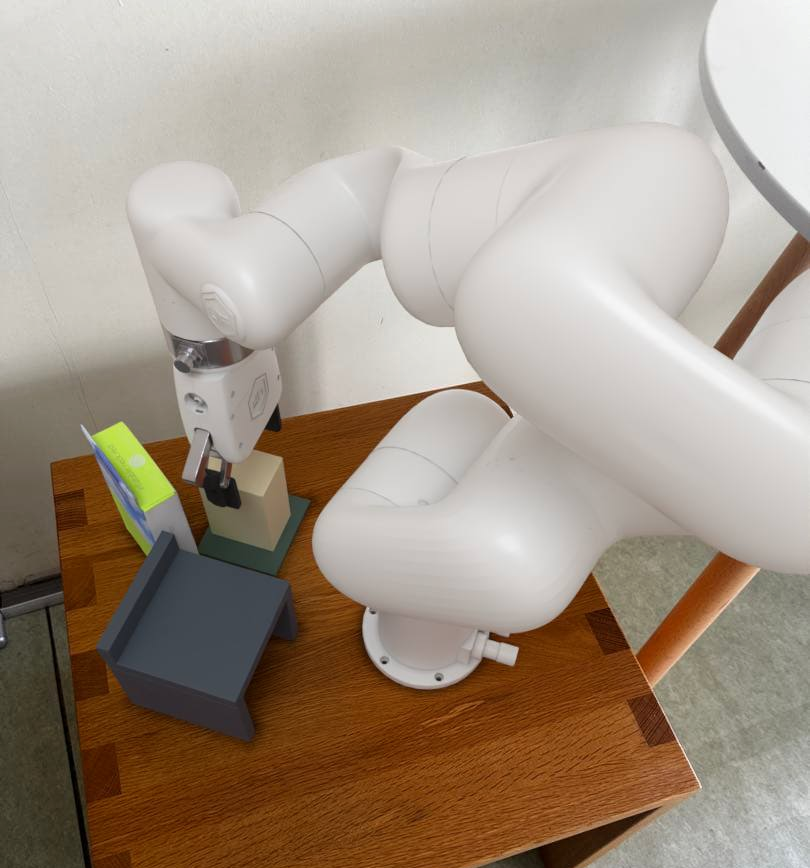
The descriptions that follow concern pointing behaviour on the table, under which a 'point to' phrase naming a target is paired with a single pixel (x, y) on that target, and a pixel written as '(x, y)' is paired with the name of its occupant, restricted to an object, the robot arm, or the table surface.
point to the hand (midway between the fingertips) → (246, 464)
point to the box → (140, 489)
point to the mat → (251, 554)
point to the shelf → (195, 636)
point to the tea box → (253, 502)
